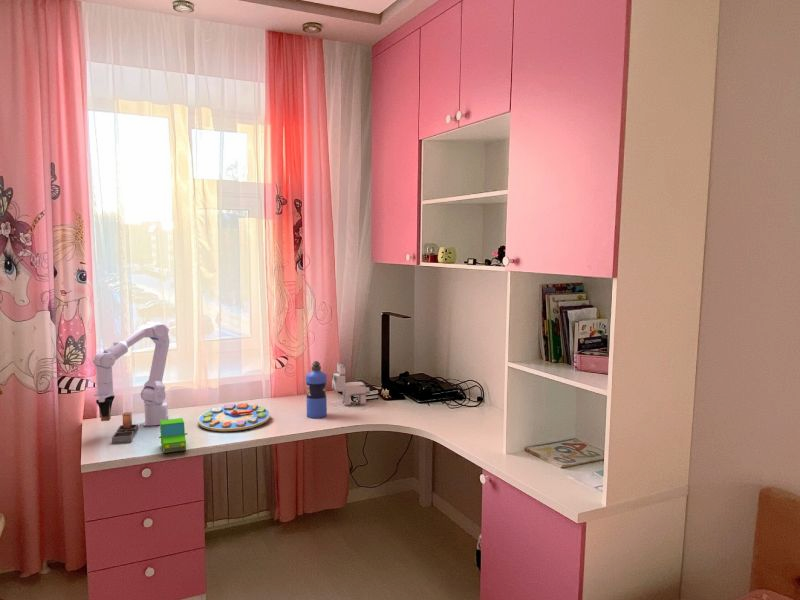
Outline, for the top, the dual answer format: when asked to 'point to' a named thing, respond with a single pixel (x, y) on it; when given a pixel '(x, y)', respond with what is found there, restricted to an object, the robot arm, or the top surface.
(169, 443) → the toy car
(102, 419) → the wooden block with lid
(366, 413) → the top surface
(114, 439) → the grey compartment box
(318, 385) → the water bottle
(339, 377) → the toy llama
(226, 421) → the shape sorting clock
